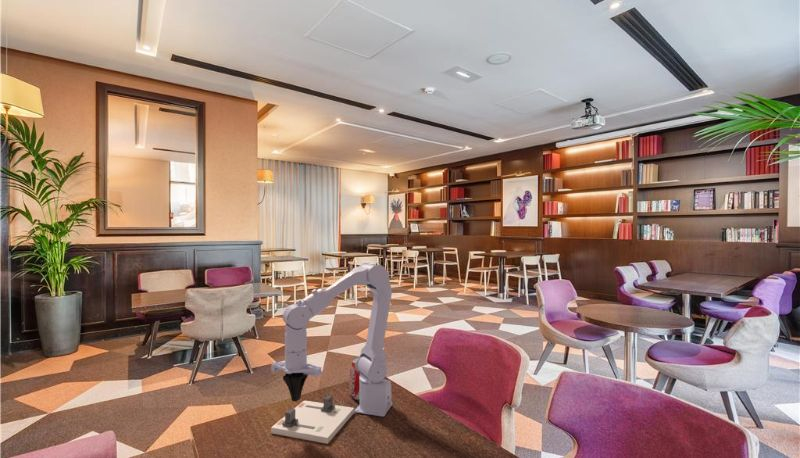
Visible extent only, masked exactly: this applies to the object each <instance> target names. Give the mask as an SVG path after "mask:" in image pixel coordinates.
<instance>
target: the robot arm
mask: <svg viewBox="0 0 800 458" xmlns="http://www.w3.org/2000/svg"><path fill="white" fill-rule="evenodd" d="M354 286H366V287H368V289H369V290H370V292H371V293H372V294H373V299H372V305H371V311H370V317H369V323H368V328H367V334H366V341H365V345H364V346H363V347H361V349H360V353H359V356H357V357H358V359H357V362H356V368H357V370H358V371H359V372H360V378H359V379H360V380H359V383H360V400H359V405H357V407H356V408H354V413H355V414H356V413H358V414H363V415H368V416H369V415H370V416H377V417H381V418H382V417H385V416H386V414H387V413H388V411H389V410H390V409H391V407H392V406H393V402H392V382H391V381H390V380H387V379H386V378H385V377H386V375H387V374H388V372H387V371H388V368H387V364H386V363H387V362H386V361H387V356H386V353H385V351H384V343H385V336H386V332H387V325H388V319H389V312H390V307H391V306H390V305H391V300H392V295H393V290H392V286H391V282H390V272H389V271H388V270H387V269H386V268H385V267H384V266H383V265H381V264H373V263H369V262H363V263H360V265H359V266H355V267H354V268H352V269H351V270H350V271H349V272H348V273H346V274H344V276H343V277H341V278H340V279H338V280H336V282H334V283H333V284H331V285H330V286H328V287H327V288H326V289H324V288H318V289H316V288H314V289H312V290H311V293H310V294H308V296H305V297H304V298H302V299H298V300H297V301H296V303H294V304H290V305H288V306H287V307H285V309H284V311H283V314H282V315H281V318H282V320H283V322H284V323H285V327H284V329H285V330H284V361H274V362H273V363H271V367H270V369H271V372H284V374H285V375H283V376H282V379H283V381H284V382H285V384H286V386H287V389H288V390H289V394H290V398H291V401H292V402H297V401H299V400H301V396H302V391H303V389H304V385H305V382H306V380H307V378H308V377H309V376H314V377H315V378H319V377H320V376H321V375H322V367H321V366H317V365H314V364H311V363H308V361H307V360H308V356H307V355H308V353H307V352H308V344H307V343H308V340H307V339H308V335H307V334H308V333H307V325H308V324H309V322H310V320H311V319H312V318H314V317H315V316H316V315H318V314H320V313H321V312H323V311H324V310H326V309H327V308H328V307H330V306H331V303H332V300H333V299H335V298H336V297H338V296H340V295H341V294H342V293H344V292H347V291H348V290H350V289H351V288H352V287H354Z"/></svg>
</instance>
